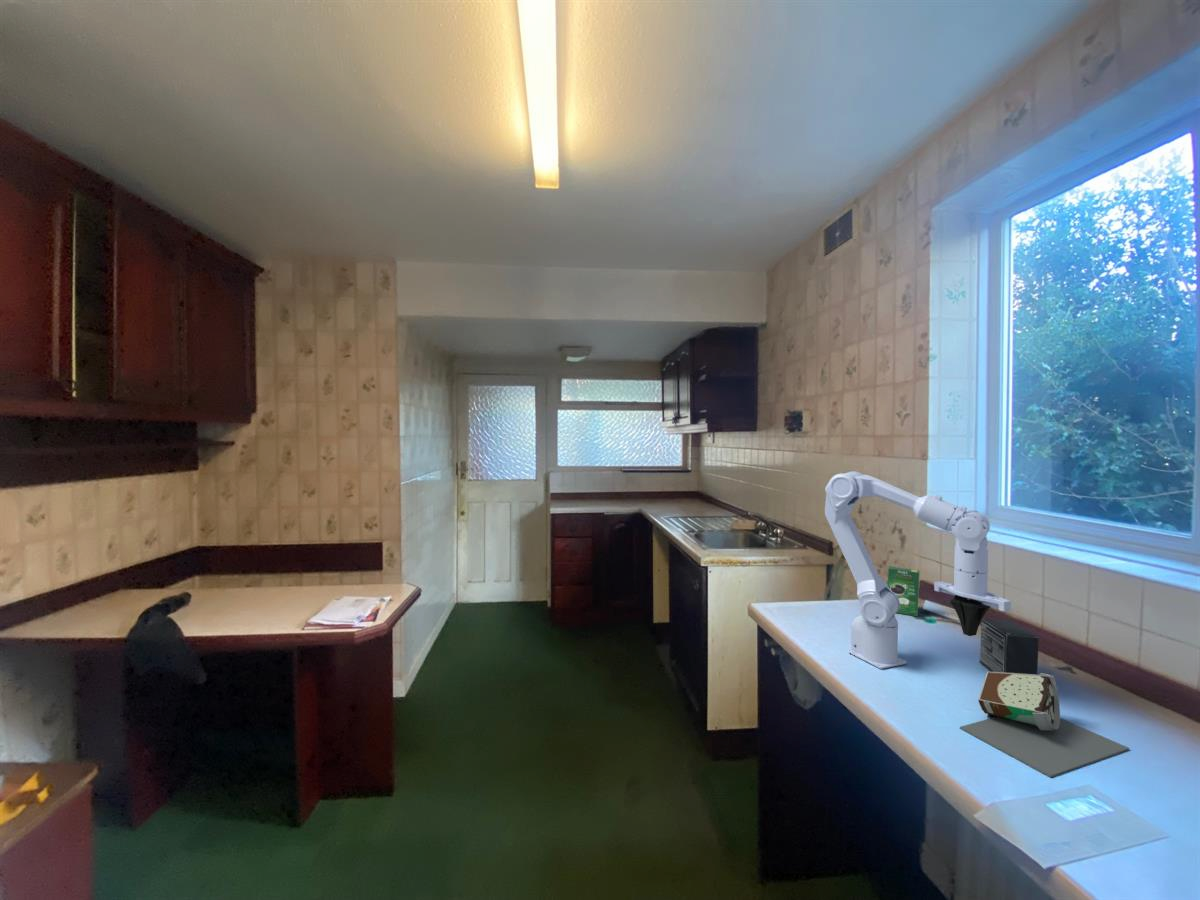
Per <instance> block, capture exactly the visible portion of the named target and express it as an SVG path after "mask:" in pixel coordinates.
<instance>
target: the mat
mask: <svg viewBox="0 0 1200 900" xmlns="http://www.w3.org/2000/svg"><path fill="white" fill-rule="evenodd" d="M959 729H960V730H962V731H963V732H965V733H967V734H969V735H971V736H973V737H975V738H976V739H978V740H980V741H981V742H983V743H986V744H988V745H989V746H991V747H993V748H995V749H997V750H998V751H1000V752H1002V753H1004V754H1006V755H1008V756H1009V757H1012V758H1014V759H1015V760H1017V761H1019V762H1020V763H1022V764H1024V765H1026V766H1028V767H1029V768H1031V769H1034V770H1036V771H1037V772H1039V773H1041V774H1043V775H1045V776H1046V777H1048V778H1050V779H1051V778H1053V777H1056V776H1059V775H1063V774H1066V773H1067V772H1068V773H1069V772H1071V771H1073V770H1077V769H1079V768H1082V767H1086V766H1087V765H1090V764H1093V763H1096V762H1099V761H1102V760H1105V759H1108V758H1110V757H1112V756H1113V757H1114V756H1115V755H1118V754H1121V753H1124V752H1127V751H1130V747H1128V746H1127V745H1123V744H1122V743H1118V742H1116V741H1114V740H1111V739H1110V738H1107V737H1105V736H1103V735H1100V734H1098V733H1097V732H1094V731H1091V730H1089V729H1087V728H1085V727H1082V726H1080V725H1079V724H1075V723H1073V722H1071V721H1069V720H1066V719H1065V718H1063V717H1060V724H1059V728H1058V729H1053V730H1050V731H1042V730H1040V729H1039V728H1038V726H1037V725H1033V724H1028V723H1024V722H1020V721H1016V720H1011V719H1007V718H1003V717H999V716H993V717H991V718H990V717H989V718H987V719H983V720H980V721H976V722H972V723H969V724H965V725H962V726H959Z"/></svg>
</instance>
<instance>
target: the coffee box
mask: <svg viewBox="0 0 1200 900" xmlns="http://www.w3.org/2000/svg"><path fill="white" fill-rule="evenodd" d="M887 570H888V572H887V585H888V587H889V589H890V590H891V591H892V592H893V593H895V594H896V595H897V597H898V598H899V601H900V608H899V610H898V612H897V613H896V614H901V615H906V616H910V615H911V617H918V614H919V592H920V590H919V589H920V570H919V569H912V568H911V569H910V568H903V567H899V566H898V567H897V566H888V569H887Z"/></svg>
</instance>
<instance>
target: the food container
mask: <svg viewBox="0 0 1200 900" xmlns="http://www.w3.org/2000/svg"><path fill="white" fill-rule="evenodd" d="M1058 691H1059V690H1058V687H1057V683H1056V679H1055V675H1050V674H1048V673H1042V672H1040V673H1039V674H1037V675H1034V674H1019V673H1003V672H990V671H989V670H986V674H985V676H984V679H983V682H982V686H981V690H980V693H979V696H978V699H977V701H978V703H979V706H980V708H981V710H982V712H983V713H984V714H986V715H992V716H993V717H997V716H999V717H1003V718H1007V719H1011V720H1016V721H1020V722H1024V723H1028V724H1033V725H1037V726H1038V728H1039V729H1040V730H1042V731H1050V730H1053V729H1058V728H1059V724H1060V718H1061V709H1060V698H1059V693H1058Z"/></svg>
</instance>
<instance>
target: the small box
mask: <svg viewBox="0 0 1200 900" xmlns="http://www.w3.org/2000/svg"><path fill="white" fill-rule="evenodd" d="M980 629H981V630H980V631H981V632H980V651H979V652H980V653H979V663H980V664H981V665H982V667H984V668H986V669H987V671H988V672H1003V673H1019V674H1034V675H1038V667H1039V666H1038V664H1039V661H1038V660H1039V639H1040V638H1039V637H1038V636H1037V635H1035V634H1034V633H1032V632H1030V631H1029V630H1027V629H1026V628H1024V627H1022V626H1020V625H1018V624H1017V623H1016V622H1014V621H1012V620H1009V619H997V618H984V617H983V618H982V620H981V622H980Z"/></svg>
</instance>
